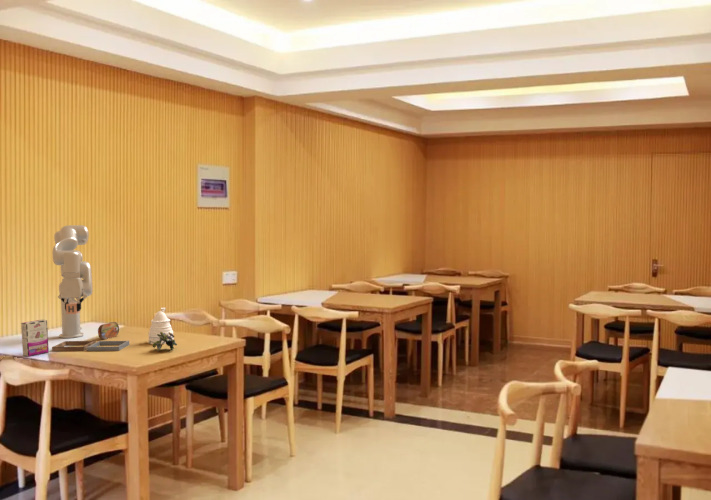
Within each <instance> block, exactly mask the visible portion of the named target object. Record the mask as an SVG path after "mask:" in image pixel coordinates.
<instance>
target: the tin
mask: <svg viewBox="0 0 711 500" xmlns="http://www.w3.org/2000/svg"><path fill="white" fill-rule="evenodd" d="M119 332H120V326H119V324H118V323H117V321H116V322H115V321H110V322H107V323H104V324H103V323H102V324H100V325H99V326H98V329H97V334H98V337H99V339H100V340H109V339H112V337H113V338H116V337H117V336H118V335H119ZM108 338H109V339H108Z"/></svg>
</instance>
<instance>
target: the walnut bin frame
mask: <svg viewBox="0 0 711 500" xmlns="http://www.w3.org/2000/svg"><path fill="white" fill-rule="evenodd" d="M96 342H97V341H96V340H64V341H63V342H60V343H58V344H55V345H54V346H52V347H51V352H81V351H82V352H84V351H87V347H88V346H90V345H92V344H94V343H96Z"/></svg>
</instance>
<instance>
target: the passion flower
mask: <svg viewBox="0 0 711 500" xmlns="http://www.w3.org/2000/svg"><path fill="white" fill-rule="evenodd" d="M160 334H161V335H160ZM160 334H158V333H157V335H158V336H159V337H160V341H156V342H155V343H154V342H153V343H154V344H152V348H153V349H155V348H156V349H157V352H159V351H160V350H161V349H162V347H163V345H164V344H163V343H164V342H166V344H165V345H166V346H168V347H169V349H170V350H174V349H175V347H174V346H177V345H178V344H177V343H176V340H175V339H174V340H173V339H172V338H175V335H174V333H173V334H172V333H170V332H169V334H170V336H168V335H166V334H165V333H162V332H160ZM171 336H172V337H171ZM161 341H164V342H163V343H162V344H161ZM150 342H152V341H151V340H150ZM150 342H149V341H148V344H149V345H151V344H150Z"/></svg>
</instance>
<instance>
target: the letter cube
mask: <svg viewBox="0 0 711 500" xmlns="http://www.w3.org/2000/svg"><path fill="white" fill-rule="evenodd" d="M77 313H80V314H81V310H80V311H77V303H69V304H66V314H77Z"/></svg>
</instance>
